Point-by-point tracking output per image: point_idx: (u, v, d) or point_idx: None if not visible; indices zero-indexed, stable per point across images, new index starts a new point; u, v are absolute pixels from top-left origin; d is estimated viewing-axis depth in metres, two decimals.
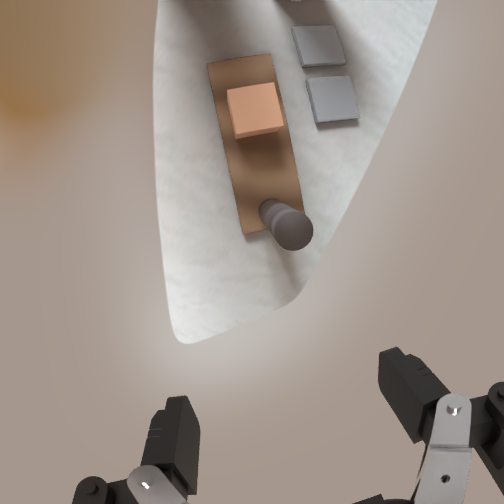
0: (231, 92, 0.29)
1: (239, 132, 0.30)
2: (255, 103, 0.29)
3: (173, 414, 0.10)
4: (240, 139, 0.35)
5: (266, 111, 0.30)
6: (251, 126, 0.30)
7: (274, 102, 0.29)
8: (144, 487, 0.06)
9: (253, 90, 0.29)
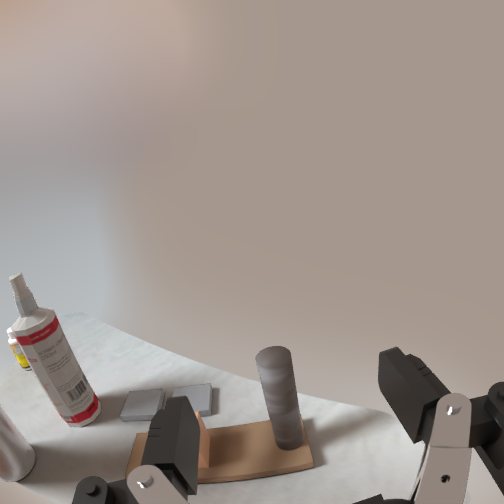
0: None
1: None
2: None
3: (173, 414, 0.10)
4: (210, 464, 0.28)
5: None
6: None
7: None
8: (144, 487, 0.06)
9: None
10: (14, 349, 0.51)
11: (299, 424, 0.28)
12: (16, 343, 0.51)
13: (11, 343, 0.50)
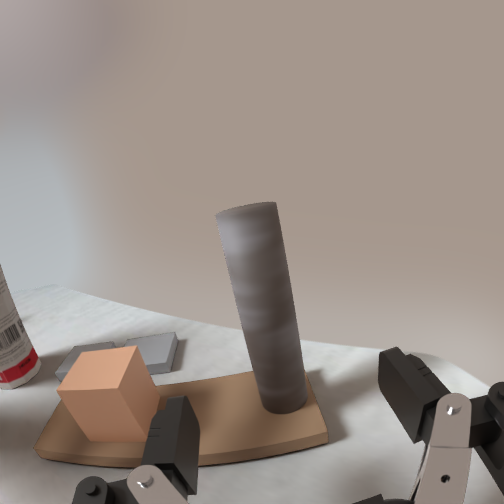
0: (62, 387, 0.16)
1: (117, 385, 0.16)
2: (92, 367, 0.18)
3: (173, 414, 0.10)
4: None
5: (109, 359, 0.19)
6: (118, 373, 0.17)
7: (104, 352, 0.20)
8: (144, 487, 0.06)
9: (76, 368, 0.18)
10: None
11: (300, 360, 0.18)
12: None
13: None
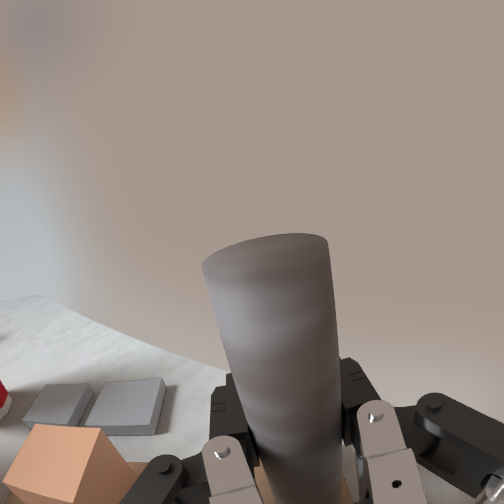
0: (9, 478, 0.08)
1: (73, 497, 0.08)
2: (44, 455, 0.10)
3: None
4: None
5: (65, 445, 0.11)
6: (74, 475, 0.09)
7: (60, 431, 0.12)
8: (223, 457, 0.07)
9: (26, 450, 0.10)
10: None
11: (339, 472, 0.09)
12: None
13: None
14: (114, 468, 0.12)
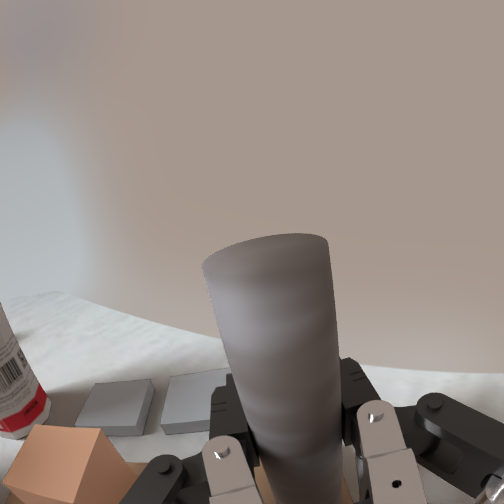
0: (9, 479, 0.08)
1: (73, 498, 0.08)
2: (44, 456, 0.10)
3: (236, 388, 0.11)
4: None
5: (65, 446, 0.11)
6: (74, 475, 0.09)
7: (59, 432, 0.12)
8: (223, 457, 0.07)
9: (26, 451, 0.10)
10: None
11: (339, 472, 0.09)
12: None
13: None
14: (114, 468, 0.12)
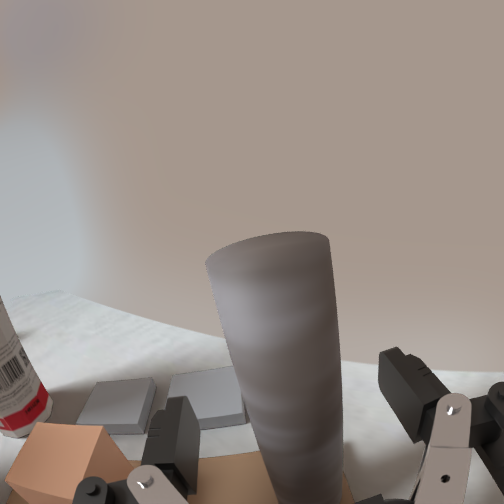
0: (11, 476, 0.08)
1: None
2: (46, 453, 0.10)
3: (173, 414, 0.10)
4: None
5: (67, 443, 0.11)
6: (76, 472, 0.09)
7: (62, 429, 0.12)
8: (144, 487, 0.06)
9: (28, 449, 0.10)
10: None
11: (340, 469, 0.10)
12: None
13: None
14: (116, 466, 0.12)
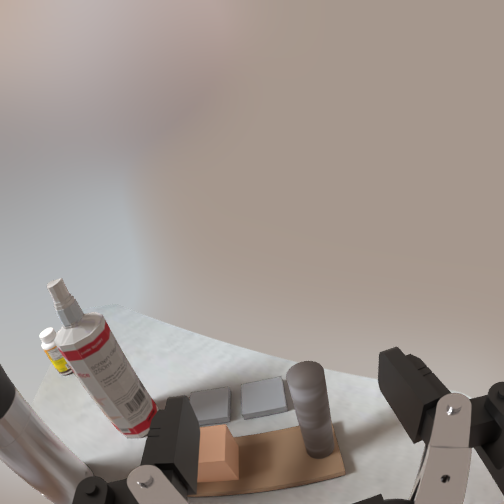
0: None
1: (223, 458, 0.25)
2: None
3: (173, 414, 0.10)
4: (240, 475, 0.27)
5: (209, 436, 0.28)
6: (220, 448, 0.27)
7: (202, 430, 0.29)
8: (144, 487, 0.06)
9: None
10: (49, 354, 0.52)
11: (331, 434, 0.26)
12: (51, 348, 0.51)
13: (45, 348, 0.51)
14: (231, 442, 0.29)
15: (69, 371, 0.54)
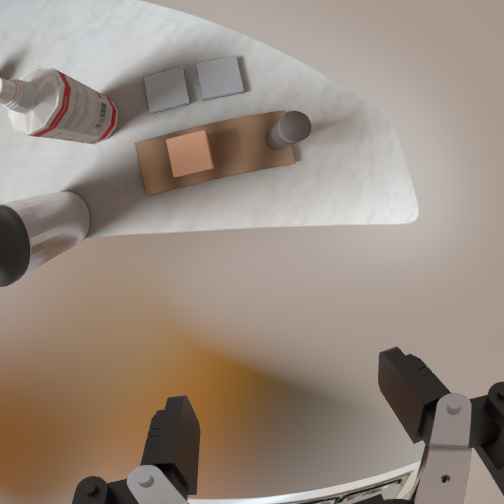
0: (175, 173, 0.37)
1: (210, 165, 0.37)
2: (185, 153, 0.36)
3: (173, 414, 0.10)
4: (214, 164, 0.42)
5: (192, 144, 0.36)
6: (206, 156, 0.37)
7: (184, 138, 0.36)
8: (144, 487, 0.06)
9: (173, 155, 0.36)
10: None
11: None
12: None
13: None
14: (207, 140, 0.38)
15: None
